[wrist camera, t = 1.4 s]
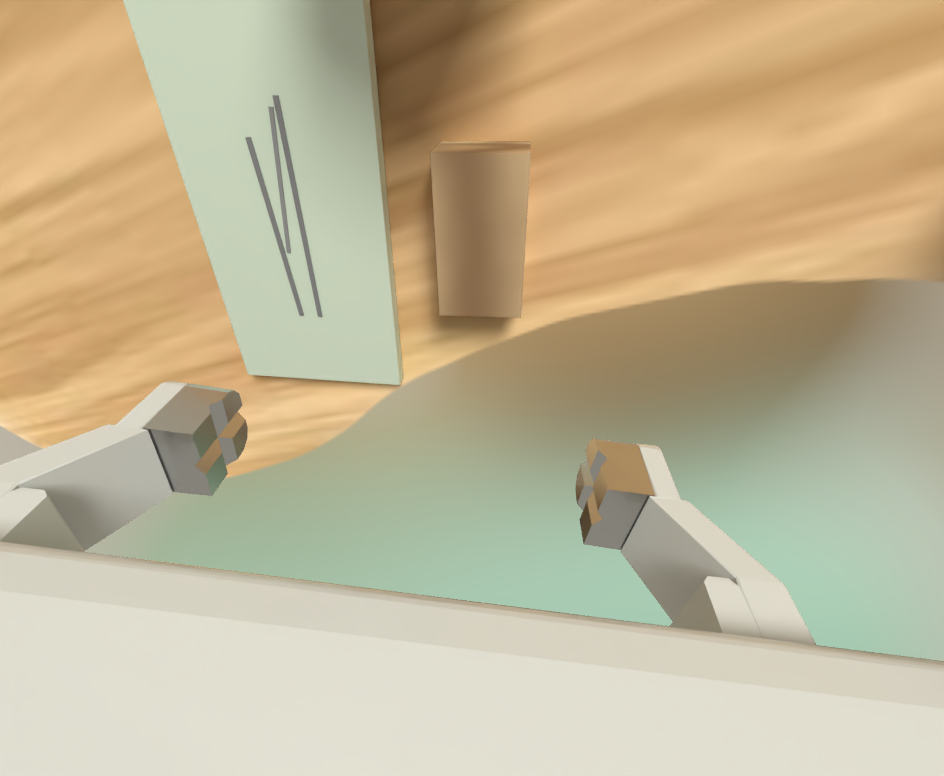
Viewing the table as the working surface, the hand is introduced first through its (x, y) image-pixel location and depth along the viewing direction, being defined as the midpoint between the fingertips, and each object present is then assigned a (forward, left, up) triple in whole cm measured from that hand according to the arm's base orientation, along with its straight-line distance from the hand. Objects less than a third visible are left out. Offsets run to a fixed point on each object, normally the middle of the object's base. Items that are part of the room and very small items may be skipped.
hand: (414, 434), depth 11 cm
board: (+12, +1, -21) cm, 24 cm away
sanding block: (0, +1, -21) cm, 21 cm away
